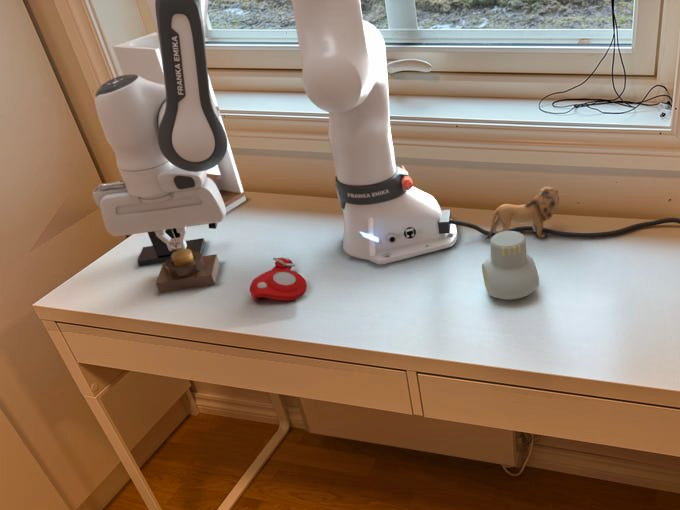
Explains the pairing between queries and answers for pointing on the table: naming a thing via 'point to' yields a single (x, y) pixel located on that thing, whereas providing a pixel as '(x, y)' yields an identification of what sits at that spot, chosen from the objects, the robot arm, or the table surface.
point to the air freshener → (509, 267)
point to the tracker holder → (279, 282)
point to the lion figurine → (527, 212)
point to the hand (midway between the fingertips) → (178, 248)
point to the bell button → (182, 257)
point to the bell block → (188, 273)
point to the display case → (147, 64)
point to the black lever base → (165, 248)
